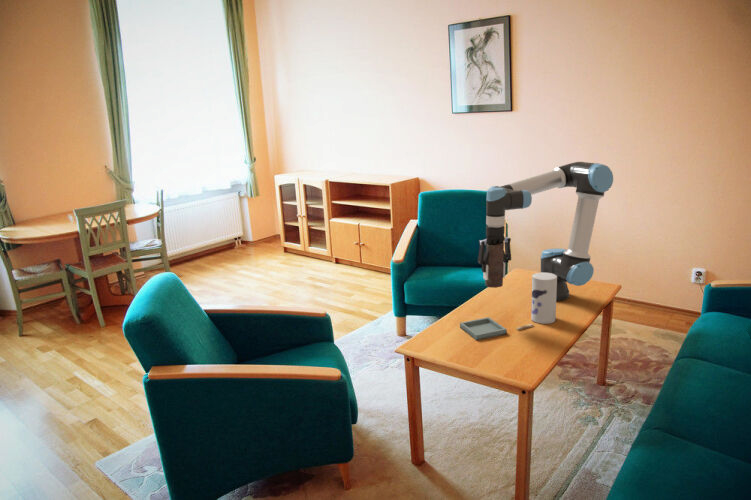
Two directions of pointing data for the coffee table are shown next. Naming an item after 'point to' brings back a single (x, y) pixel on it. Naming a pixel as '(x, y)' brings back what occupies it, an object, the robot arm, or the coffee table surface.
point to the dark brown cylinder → (495, 265)
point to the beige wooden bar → (524, 327)
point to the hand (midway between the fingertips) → (494, 277)
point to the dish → (483, 328)
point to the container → (544, 297)
